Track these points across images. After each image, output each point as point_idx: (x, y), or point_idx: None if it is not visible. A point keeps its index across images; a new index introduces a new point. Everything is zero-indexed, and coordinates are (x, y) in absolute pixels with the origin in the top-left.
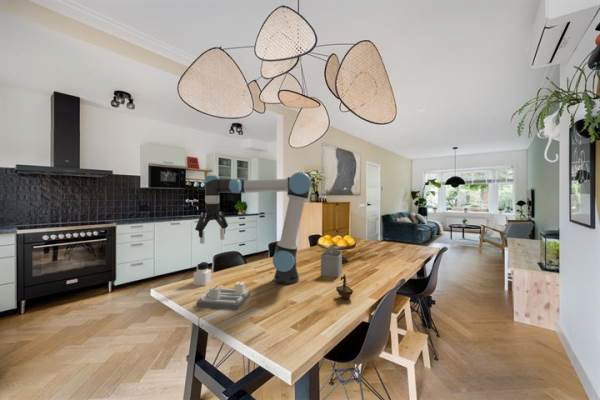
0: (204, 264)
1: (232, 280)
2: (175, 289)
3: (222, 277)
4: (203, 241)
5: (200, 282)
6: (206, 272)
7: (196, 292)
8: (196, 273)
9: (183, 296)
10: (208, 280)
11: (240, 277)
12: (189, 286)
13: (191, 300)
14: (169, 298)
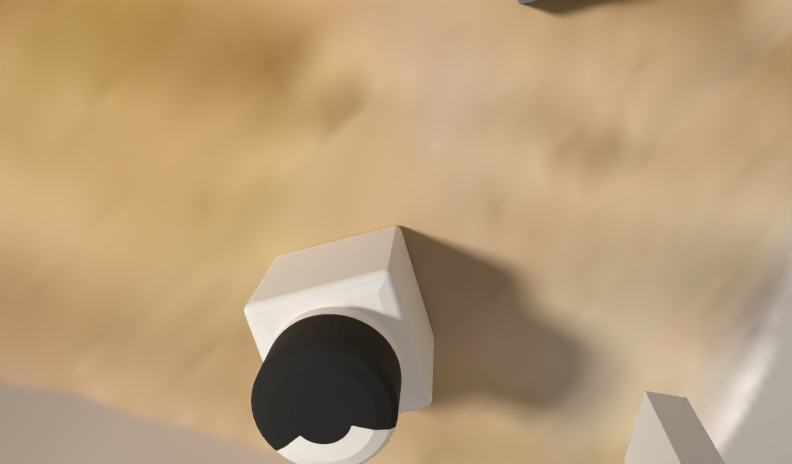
0: (348, 357)
1: (135, 62)
2: (582, 407)
3: (119, 232)
4: (699, 431)
5: (413, 283)
6: (356, 283)
7: (575, 176)
8: (423, 371)
9: (698, 215)
10: (328, 251)
11: (9, 39)
12: (473, 351)
13: (758, 70)
14: (774, 294)
